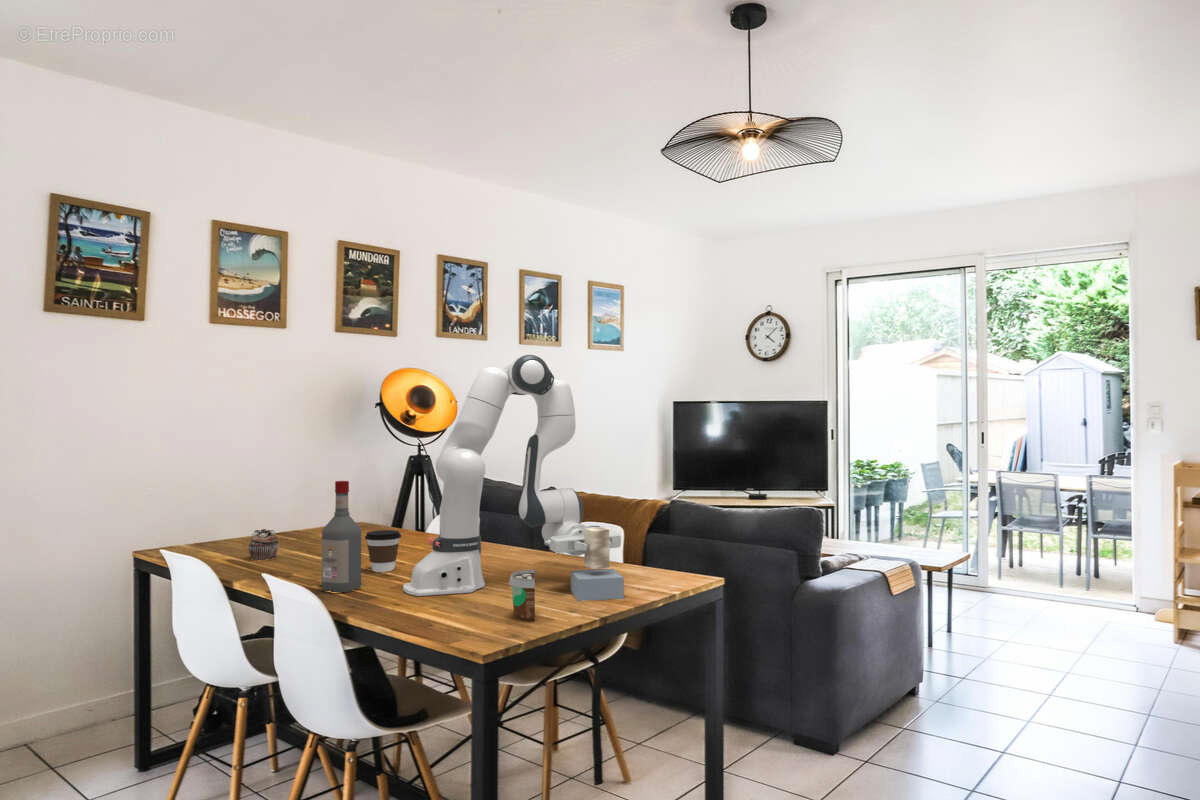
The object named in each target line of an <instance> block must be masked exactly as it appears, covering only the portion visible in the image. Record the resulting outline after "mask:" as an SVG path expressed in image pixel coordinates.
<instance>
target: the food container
mask: <svg viewBox="0 0 1200 800" xmlns="http://www.w3.org/2000/svg"><path fill="white" fill-rule="evenodd" d="M535 571H536V570H535V569H526V570H525V569H523V570H519V571H515V572H512V573H511V576H510V577H509V582H508V585H510V586H511V591H512V592H511V593H512V594H511V595H512V605H513V618H514V617H515V618H514V619H516V618H517V619H516V620H518V619H520V620H519V621H523V620H528V621H527V622H535V621H536V586H535V585H536V577H535V576H536V575H535V574H536V573H535Z"/></svg>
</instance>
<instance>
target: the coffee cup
mask: <svg viewBox="0 0 1200 800" xmlns="http://www.w3.org/2000/svg"><path fill="white" fill-rule="evenodd" d="M364 538H365V540H366V541H367V544H366V545H367V551H368V557H369V562H370V567H371V571H372V572H373V571H376V572H386V571H391V570H393V569H394V570H395V567H396V561H397V556H398V551H399V546H400V545H399V544H400V543H399V541H400V538H402V534H401V533H400V531H399V530H392V529H389V530H387V529H380V530H372V531H367V532H366V535H364ZM394 570H393V571H394Z"/></svg>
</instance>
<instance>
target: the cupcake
mask: <svg viewBox="0 0 1200 800" xmlns="http://www.w3.org/2000/svg"><path fill="white" fill-rule="evenodd" d="M251 536H252V537H251V538H250V542H249V544H248V545H247V548H248V551H249V559H250V560H251V559H253V560H266V559H272V558H275V557H276V558H277V554H278V550H279V540H278V536H277V535H276V531H275V530H273V529H268V530H267V529H265V528H262V529H260V530H259V529H256V530H254V531H253V532H252V533H251ZM276 558H275V559H276Z"/></svg>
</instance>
